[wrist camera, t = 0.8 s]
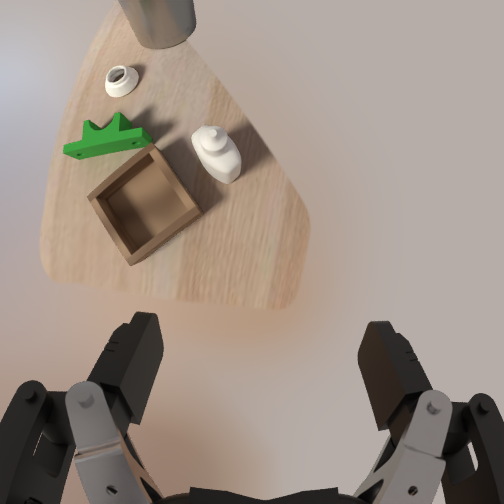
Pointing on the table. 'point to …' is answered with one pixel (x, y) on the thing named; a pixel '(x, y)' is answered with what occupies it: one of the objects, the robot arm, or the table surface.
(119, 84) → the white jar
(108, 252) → the table surface
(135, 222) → the box
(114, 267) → the table surface
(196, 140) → the eye dropper bottle
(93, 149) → the pipe clamp
